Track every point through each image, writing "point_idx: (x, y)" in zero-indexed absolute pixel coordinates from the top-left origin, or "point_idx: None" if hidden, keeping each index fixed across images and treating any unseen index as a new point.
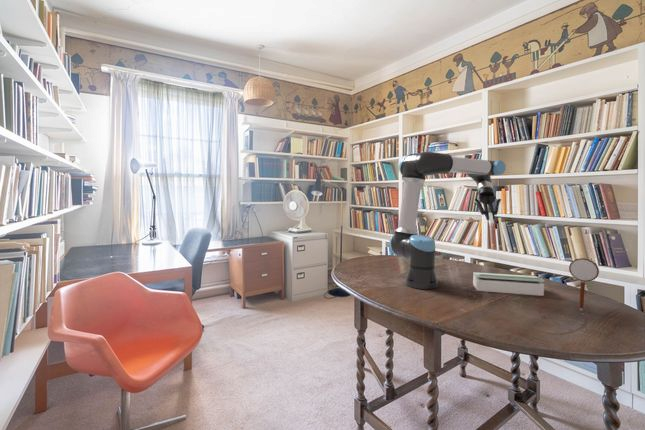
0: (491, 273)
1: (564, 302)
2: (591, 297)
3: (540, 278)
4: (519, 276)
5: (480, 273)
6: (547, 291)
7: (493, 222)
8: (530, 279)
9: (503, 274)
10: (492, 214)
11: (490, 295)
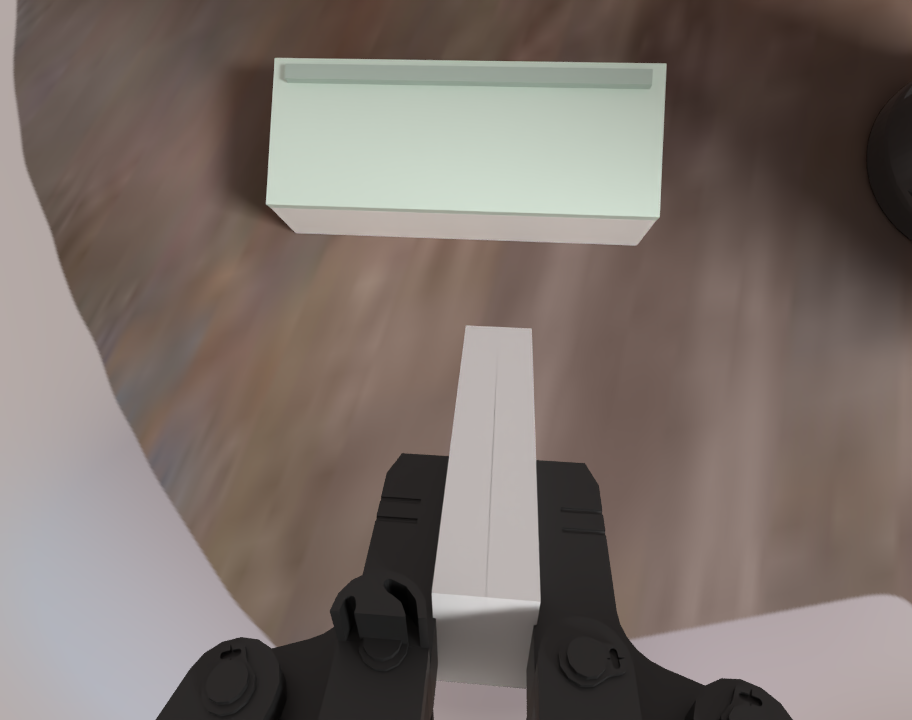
0: (537, 210)
1: (255, 34)
2: (82, 142)
3: (288, 64)
4: (380, 146)
5: (619, 178)
6: (250, 196)
7: (473, 326)
8: (350, 59)
9: (463, 196)
10: (419, 580)
11: (584, 55)
